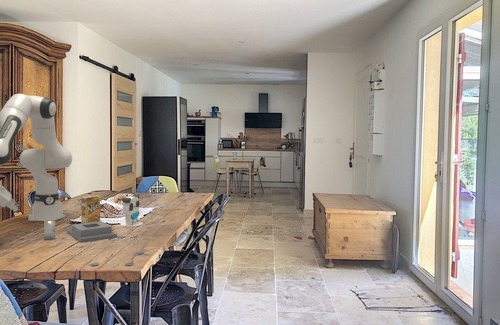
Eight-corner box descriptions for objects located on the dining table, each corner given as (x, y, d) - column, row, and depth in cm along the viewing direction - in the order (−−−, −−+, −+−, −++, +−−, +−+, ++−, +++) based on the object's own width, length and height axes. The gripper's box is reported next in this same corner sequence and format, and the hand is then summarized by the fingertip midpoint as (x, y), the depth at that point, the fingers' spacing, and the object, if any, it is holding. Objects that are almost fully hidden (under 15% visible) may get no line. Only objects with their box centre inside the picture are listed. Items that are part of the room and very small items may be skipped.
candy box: (86, 227, 198) (86, 197, 197) (80, 226, 200) (80, 197, 199) (100, 224, 206) (100, 195, 205) (95, 223, 208) (95, 195, 207)
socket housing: (66, 232, 187) (66, 223, 187) (100, 228, 197) (100, 219, 197) (80, 242, 170) (80, 232, 170) (117, 237, 180) (117, 227, 180)
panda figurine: (135, 227, 201) (135, 198, 200) (115, 226, 203) (115, 197, 202) (146, 222, 212) (146, 195, 211) (127, 221, 215) (127, 194, 214)
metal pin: (43, 238, 176) (43, 220, 176) (54, 236, 179) (53, 219, 179) (45, 240, 173) (45, 222, 173) (56, 238, 176) (56, 221, 175)
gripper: (-6, 184, 156) (23, 206, 161) (-3, 179, 173) (23, 199, 179) (-20, 195, 154) (10, 218, 159) (-15, 189, 171) (12, 210, 177)
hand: (17, 208), depth 169 cm, fingers open, 8 cm apart
